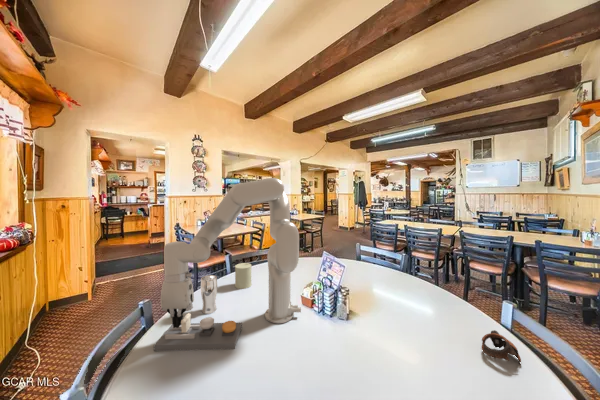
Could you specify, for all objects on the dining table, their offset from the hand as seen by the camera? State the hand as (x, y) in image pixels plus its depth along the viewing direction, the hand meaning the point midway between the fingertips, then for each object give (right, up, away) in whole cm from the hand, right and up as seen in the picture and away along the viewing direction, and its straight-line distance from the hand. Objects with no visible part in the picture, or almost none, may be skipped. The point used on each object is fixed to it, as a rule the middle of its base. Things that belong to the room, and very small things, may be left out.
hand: (177, 325), depth 81 cm
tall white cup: (+4, -4, +19) cm, 20 cm away
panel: (+9, -5, +1) cm, 10 cm away
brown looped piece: (+112, -7, -7) cm, 112 cm away
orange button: (+19, -3, +1) cm, 19 cm away
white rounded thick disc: (+11, -1, +1) cm, 11 cm away
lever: (+3, -3, 0) cm, 4 cm away
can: (+12, -3, +46) cm, 48 cm away
